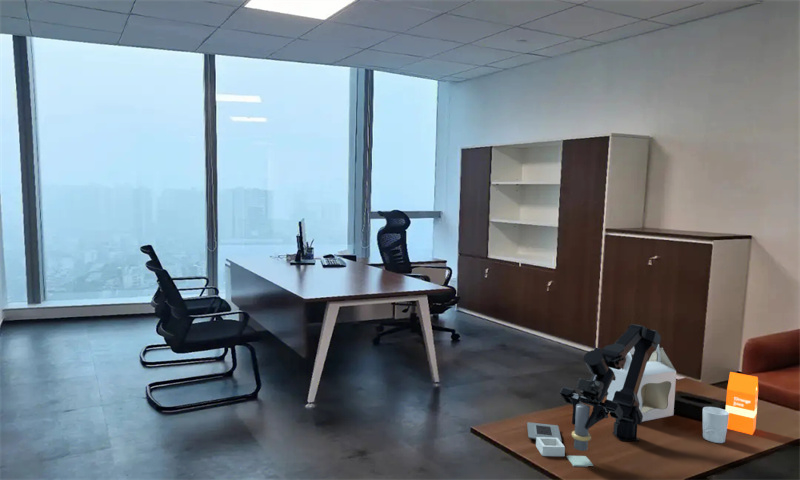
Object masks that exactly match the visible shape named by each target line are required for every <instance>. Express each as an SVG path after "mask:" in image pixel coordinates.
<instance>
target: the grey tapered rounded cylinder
mask: <svg viewBox="0 0 800 480" xmlns="http://www.w3.org/2000/svg"><path fill="white" fill-rule="evenodd" d="M590 409H591V405H588V404H585V403H583V404H576V416H575V425H574V430H573V431H571V438H572V439H573V449H575V450H578V451H581V452H584V451H585V452H586V451H587V450H588V449H589V448H588V446H589V445H588V444H589V442H590V441H591V440H592V434H591V433H589V429H590V428H589V429H586V428H585V426H586V423H587V421H588V419H589V417H590V415H591V414H590V413H591V410H590Z"/></svg>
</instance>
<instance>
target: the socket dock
mask: <svg viewBox="0 0 800 480" xmlns="http://www.w3.org/2000/svg"><path fill="white" fill-rule="evenodd" d="M535 447H536V448H537V451H539V453H540V455H541V456H542V457H565V453H566V446H565V445H564V443H562V442H561V441H560V440H559V439H558V438H552V437H536V440H535Z"/></svg>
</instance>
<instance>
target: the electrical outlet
mask: <svg viewBox="0 0 800 480" xmlns="http://www.w3.org/2000/svg"><path fill="white" fill-rule="evenodd" d="M526 424H527V425H526V426H527V436H528V439H530V440H531V441H532V440H533V441H536V437H552V438H558V439H559V440H560V441H561V442H562V441H563V440H562V436H561V432H560V427H559V425H557V424H547V423H538V422H537V423H536V422H527V423H526Z"/></svg>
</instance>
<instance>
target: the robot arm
mask: <svg viewBox="0 0 800 480" xmlns="http://www.w3.org/2000/svg"><path fill="white" fill-rule="evenodd" d="M661 338H662V337H661V334H660V333H659V332H658V330H655V329H649V328H647V327H645V326H644V325H639V324H636V323H635V324H634V323H631V324H629V325H628V327H627V330H626V331H625V332H624V333H623V334H622V335H621V336H620V337H619V338H618V339H617V340H616V341H615V342H614V343H613V344H612V343H611V344H608V345H605V346H604V347H603V348H601V347H594V349H593V350H589V351H588V352H586V353H585V354H584V356H583V361H584V363H585V364H586V366H587V368H588V370H589V372H590V373H591V374H592V376H591V378H590V379H589V378H588V379H584V378H578V381H577V385H576V389H577V390H580V394H578V393H577V391H576V390H575V389H574V388H570V387H567V386H564V387H562V388H561V389H560V391H559V394H560V396H561V397H562V399H563V400H564V402H565V403H566V404H569V405H572V419H571V424H572V425H574V426H575V416H576V404H586V405H588V406H590V407H592V412H590V413H591V414H589V419H588V421H587V423H586V426H585V428H586V429H590V428H591V427H593V426H594V425H595V424H597V423H599V422H600V421H602V420H603V419H608V418H609V415H610V418H613V419H615V421H614V423H613V431H612V434H613V435H614V436H615V437H616V438H617V439H618V440H619V441H621V442H622V441H625V442H628V441H629V442H639V441H640V439H639V437H637V435H638V425H642V418H643V415H642V413H641V411H640V409H639V405H640V403H639V400H638V397H637V393H638V390H639V387H640V383H641V380H642V377H643V373H644V370H645V367H646V364H647V362H648V361H649V358H650V356H651V355H652V353H653V352H654V351H656V349H657V346H658V344H659V345H660V343H661V340H662V339H661ZM633 347H634V349H635V351H634V354H633V355H632V360H631V364H630V367H629V370H628V373H627V376H626V379H625V383H624V386H623V389H621V390H620V391H616V392H615V394H614V398H613V400H612V401H611V400H607V399H605V397H607V396H608V388H609V386H610V384H611V382H612V380H614V381H615V380H616V377H615V374H614V372H613V371H612V369H611V368H614V369H618V370H620V369H621V368H622V367H623V366H624V365H625V362H626V355H627V353H628V352H629V351H630V350H631V349H632V348H633ZM609 367H610V368H609ZM581 394H582V395H581ZM603 401H604V402H603ZM609 412H610V413H609Z"/></svg>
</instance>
